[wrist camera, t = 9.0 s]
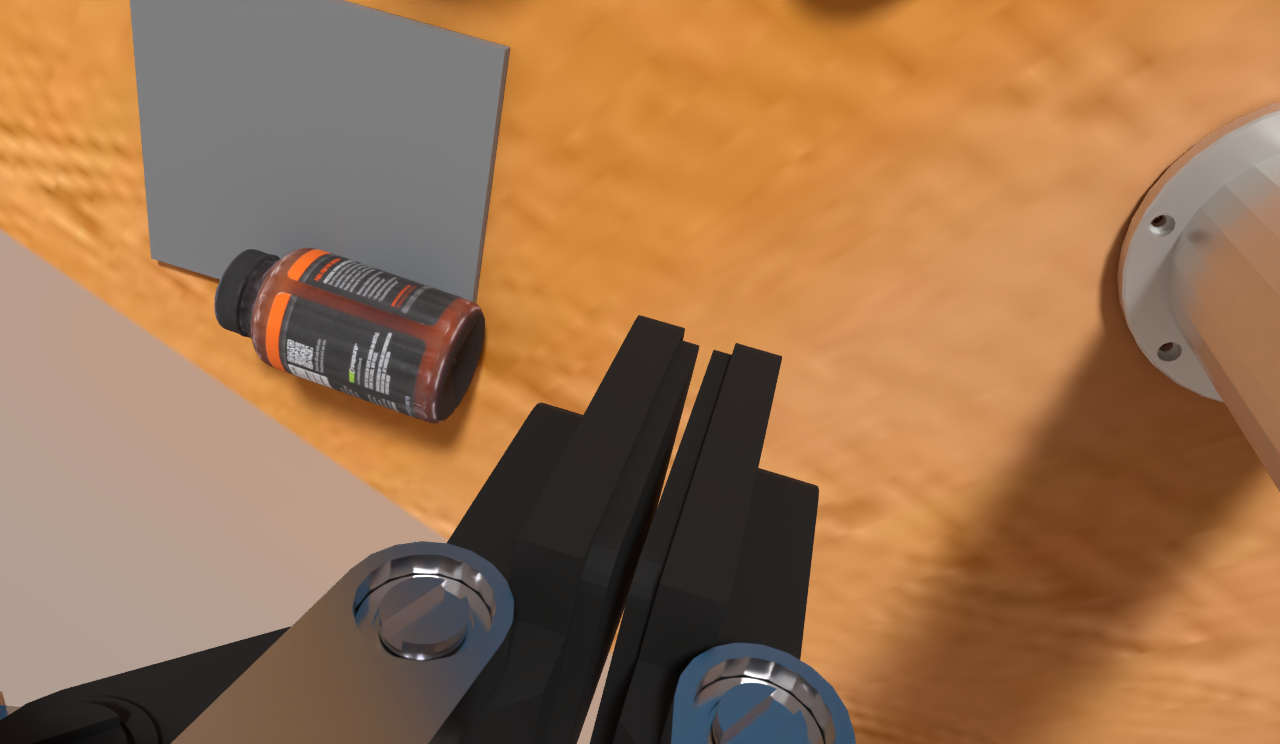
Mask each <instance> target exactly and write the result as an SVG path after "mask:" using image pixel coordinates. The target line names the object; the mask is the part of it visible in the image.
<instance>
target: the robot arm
mask: <svg viewBox="0 0 1280 744" xmlns="http://www.w3.org/2000/svg"><path fill="white" fill-rule="evenodd" d="M1160 215H1163V219H1162V220H1161V221H1160V222H1158V223H1151V222H1152V220H1153V219H1154V218H1156V217H1158V216H1160ZM1117 280H1118V292H1119V302H1120V305H1121V308H1122V311H1123V314H1124V317H1125V320H1126V323H1127V326H1128V328H1129V330H1130V332H1131V333H1132V335H1133V337H1134V339H1135V341H1136V343H1137V345H1138V347H1139V348H1140V349H1141V351H1142V352H1143V353H1144V354H1145V356H1146V357H1147V358H1148V360H1149V361H1150V362H1151V363H1152V364H1153V365H1154V366H1155V367H1156V368H1157V369H1158V370H1160V371H1161V372H1162V373H1163V374H1165V375H1166V376H1167V377H1169V378H1170V379H1171V380H1172V381H1174V382H1175V383H1176V384H1178V385H1180V386H1182V387H1184V388H1186V389H1188V390H1190V391H1192V392H1194V393H1196V394H1198V395H1200V396H1202V397H1205V398H1209V399H1212V400H1215V401H1219V402H1222V403H1225V405H1226V406H1227V408H1228V410H1229V411H1230V413H1231V414H1232V416H1233V418H1234V419H1235V421H1236V422H1237V424H1238V426H1239V427H1240V429H1241V431H1242V432H1243V434H1244V435H1245V437H1246V439H1247V440H1248V442H1249V443H1250V445H1251V447H1252V448H1253V450H1254V451H1255V453H1256V455H1257V456H1258V458H1259V459H1260V461H1261V463H1262V464H1263V466H1264V467H1265V469H1266V471H1267V472H1268V474H1269V475H1270V477H1271V479H1272V480H1273V482H1274V483H1275V485H1276V487H1277V488H1278V490H1279V491H1280V102H1277V103H1273V104H1270V105H1268V106H1265V107H1263V108H1261V109H1258V110H1256V111H1254V112H1251V113H1249V114H1246V115H1244V116H1242V117H1239V118H1237V119H1235V120H1233V121H1231V122H1230V123H1228V124H1226V125H1225V126H1223V127H1222V128H1220V129H1218V130H1217V131H1215V132H1213V133H1212V134H1210V135H1208V136H1207V137H1205V138H1204V139H1202V140H1200V141H1199V142H1198V143H1197V144H1196V145H1194V146H1193V147H1192V148H1191V149H1190V150H1188V151H1187V152H1186V153H1185V154H1184V155H1183V156H1181V157H1180V158H1179V159H1178V160H1177V161H1175V162H1174V163H1173V164H1172V165H1171V166H1170V167H1169V168H1168V170H1167V171H1166V172H1165V173H1164V174H1163V175H1162V176H1161V178H1160V179H1159V180H1158V181H1157V182H1156V183H1155V184H1154V186H1153V187H1152V188H1151V189H1150V190H1149V192H1148V193H1147V195H1146V196H1145V198H1144V200H1143V201H1142V203H1141V205H1140V206H1139V208H1138V210H1137V211H1136V213H1135V215H1134V216H1133V218H1132V220H1131V223H1130V225H1129V228H1128V231H1127V233H1126V236H1125V239H1124V241H1123V244H1122V247H1121V253H1120V260H1119V266H1118V273H1117ZM684 332H685V328H682V327H679V326H675V325H672V324H668V323H665V322H661V321H658V320H654V319H651V318H647V317H644V316H640V315H638V317H637V318H636V320H635V322H634V324H633V325H632V327H631V329H630V331H629V333H628V335H627V336H626V338H625V340H624V342H623V344H622V346H621V347H620V349H619V351H618V353H617V355H616V357H615V358H614V360H613V362H612V364H611V366H610V368H609V369H608V371H607V373H606V375H605V377H604V379H603V380H602V382H601V384H600V386H599V388H598V390H597V391H596V393H595V395H594V397H593V399H592V401H591V402H590V404H589V406H588V408H587V410H586V412H585V413H584V415H581V414H578V413H575V412H571V411H568V410H565V409H561V408H558V407H555V406H551V405H548V404H545V403H539V404H537V405H536V406H535V407H534V409H533V410H532V411H531V413H530V414H529V416H528V417H527V419H526V420H525V422H524V424H523V425H522V427H521V428H520V430H519V431H518V433H517V434H516V436H515V438H514V439H513V441H512V442H511V444H510V445H509V447H508V448H507V450H506V452H505V453H504V455H503V456H502V458H501V459H500V461H499V462H498V464H497V466H496V467H495V469H494V470H493V472H492V473H491V475H490V476H489V478H488V480H487V481H486V483H485V484H484V486H483V487H482V489H481V490H480V492H479V494H478V495H477V497H476V498H475V500H474V501H473V503H472V505H471V506H470V508H469V509H468V511H467V512H466V514H465V515H464V517H463V519H462V520H461V522H460V523H459V525H458V526H457V528H456V529H455V531H454V533H453V534H452V536H451V537H450V539H449V540H448V542H447V543H437V542H424V541H421V542H414V543H406V544H398V545H394V546H392V547H389V548H386V549H384V550H381V551H378V552H376V553H373V554H371V555H369V556H368V557H367V558H365V559H364V560H363V561H361V562H360V563H358V564H357V565H356V566H354V567H353V568H351V569H350V570H349V572H347V573H346V574H345V575H344V576H343V577H342V578H341V579H340V580H339V581H338V582H337V583H336V584H335V585H334V586H333V587H332V588H331V589H330V590H329V591H328V592H327V593H326V594H325V595H323V597H321V598H320V599H319V600H318V601H317V602H316V603H315V604H314V605H313V606H312V607H311V608H310V609H309V610H308V611H307V612H306V613H305V614H304V615H303V616H302V617H301V618H300V619H299V620H298V621H297V622H296V623H295V624H294V625H293V626H291V627H287V628H284V629H280V630H276V631H273V632H269V633H265V634H262V635H258V636H255V637H251V638H248V639H244V640H240V641H237V642H233V643H229V644H226V645H222V646H219V647H215V648H211V649H208V650H205V651H201V652H197V653H193V654H190V655H186V656H183V657H179V658H176V659H172V660H168V661H164V662H161V663H158V664H154V665H150V666H146V667H143V668H139V669H136V670H132V671H128V672H125V673H121V674H118V675H114V676H110V677H107V678H103V679H100V680H96V681H92V682H89V683H85V684H82V685H78V686H75V687H71V688H68V689H64V690H60V691H58V692H55V693H53V694H50V695H48V696H45V697H42V698H40V699H37V700H35V701H32V702H29V703H27V704H25V705H24V706H22V707H14V706H6V705H5V701H4V697H3V694H2V692H0V744H577V741H578V738H579V735H580V732H581V730H582V727H583V724H584V721H585V718H586V716H587V713H588V710H589V707H590V704H591V701H592V699H593V695H594V693H595V690H596V687H597V684H598V681H599V679H600V676H601V673H602V670H603V667H604V665H605V662H606V659H607V656H608V653H609V650H610V648H611V645H612V642H613V639H614V636H615V633H616V631H617V628H618V625H619V622H620V619H621V616H622V614H623V617H622V621H621V625H620V629H619V633H618V636H617V640H616V644H615V648H614V652H613V656H612V660H611V664H610V667H609V671H608V676H607V679H606V683H605V687H604V691H603V695H602V698H601V702H600V706H599V710H598V714H597V718H596V721H595V726H594V729H593V733H592V737H591V741H590V744H856V742H855V734H854V731H853V727H852V724H851V721H850V717H849V714H848V711H847V709H846V707H845V705H844V704H843V702H842V701H841V699H840V698H839V696H838V694H837V693H836V691H835V690H834V688H833V687H832V686H831V685H830V684H829V683H828V682H827V681H826V680H825V679H824V678H823V677H822V676H821V675H820V674H819V673H818V672H817V671H815V670H814V669H813V668H812V667H811V666H809V665H807V664H806V663H804V662H802V661H801V660H800V657H801V648H802V639H803V630H804V621H805V613H806V604H807V595H808V586H809V577H810V569H811V560H812V551H813V542H814V533H815V525H816V516H817V507H818V498H819V488H818V486H816V485H813V484H810V483H806V482H803V481H800V480H797V479H793V478H790V477H787V476H783V475H780V474H777V473H773V472H770V471H767V470H763V469H760V468H758V466H759V462H760V457H761V452H762V448H763V443H764V439H765V434H766V429H767V425H768V420H769V416H770V411H771V406H772V402H773V397H774V392H775V388H776V383H777V379H778V374H779V369H780V365H781V360H782V356H779V355H776V354H772V353H769V352H765V351H762V350H758V349H755V348H751V347H748V346H744V345H741V344H738V343H736V344H735V347H734V350H733V353H732V355H730V354H727V353H723V352H720V351H716V350H714V351H713V353H712V356H711V359H710V362H709V365H708V367H707V370H706V373H705V376H704V379H703V381H702V384H701V387H700V390H699V393H698V395H697V398H696V401H695V404H694V407H693V409H692V412H691V415H690V418H689V421H688V423H687V426H686V429H685V432H684V435H683V437H682V440H681V443H680V446H679V449H678V451H677V454H676V457H675V460H674V463H673V465H672V468H671V471H670V474H669V477H668V480H667V482H666V485H665V488H664V491H663V494H662V496H661V499H660V495H661V491H662V487H663V484H664V480H665V476H666V472H667V468H668V465H669V461H670V457H671V453H672V449H673V446H674V442H675V438H676V434H677V430H678V427H679V423H680V419H681V415H682V412H683V408H684V404H685V400H686V396H687V393H688V389H689V385H690V381H691V377H692V374H693V370H694V366H695V362H696V358H697V354H698V350H699V345H696V344H692V343H689V342H685V341H683V338H684ZM1168 342H1170V343H1169V344H1168V345H1166V346H1162V345H1163V344H1166V343H1168ZM659 499H660V502H659ZM658 503H659V505H658ZM657 506H658V508H657ZM625 605H626V606H625ZM624 608H625V609H624ZM623 611H624V613H623Z"/></svg>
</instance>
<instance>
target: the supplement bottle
mask: <svg viewBox="0 0 1280 744" xmlns="http://www.w3.org/2000/svg"><path fill="white" fill-rule="evenodd" d="M215 315H216V318H217V320H218V323H219V324H220V325H221V326H222V327H223V328H225V329H227V330H229V331H233V332H236V333H238V334H240V335H242V336H245V337H251V339H252V341H253V345H254V348H255V351H256V352H257V354H258V356H259V357H260V358H261V359H262V360H263V361H264V362H265V363H266V364H268V365H270V366H272V367H274V368H276V369H279V370H282V371H284V372H287V373H290V374H293V375H296V376H298V377H301V378H304V379H307V380H309V381H312V382H315V383H318V384H321V385H324V386H327V387H329V388H332V389H335V390H338V391H341V392H343V393H346V394H349V395H352V396H355V397H358V398H360V399H363V400H366V401H369V402H371V403H375V404H377V405H380V406H383V407H386V408H389V409H391V410H394V411H397V412H400V413H403V414H406V415H408V416H411V417H414V418H417V419H422V420H424V421H426V422H430V423H439V422H442V421H444V420H446V419H447V418H448V417H449V416H450V415H451V414H452V413H453V412H454V410H455V408H457V406H458V405H459V404H460V402H461V400H462V399H463V397H464V395H465V393H466V392H467V390H468V388H469V385H470V383H471V380H472V378H473V375H474V372H475V369H476V367H477V364H478V361H479V357H480V354H481V350H482V345H483V340H484V332H485V318H484V316H483V313H482V310H481V308H480V307H479V306H478V305H477V304H476V303H474V302H472V301H469V300H466V299H463V298H462V297H459V296H457V295H453V294H450V293H447V292H444V291H442V290H438V289H436V288H433V287H429V286H426V285H423V284H420V283H418V282H415V281H411V280H409V279H406V278H403V277H400V276H397V275H394V274H391V273H388V272H385V271H383V270H380V269H376V268H373V267H370V266H367V265H364V264H361V263H359V262H356V261H353V260H350V259H348V258H344V257H341V256H338V255H334V254H331V253H328V252H326V251H323V250H319V249H315V248H301V249H297V250H294V251H291V252H290V253H288V254H287V255H286V256H284V257H283V258H282V259H280V258H279V257H278V256H276V255H272V254H268V253H264V252H262V251H259V250H255V249H247V250H245V251H243V252H241V253H239V254H238V255H237V256H236V257H235V258H234V259H233V260H232V261H231V262H230V263H229V265H228V266H227V267H226V269H225V271H224V273H223V274H222V277H221V278H220V281H219V285H218V287H217V289H216V294H215Z"/></svg>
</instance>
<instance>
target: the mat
mask: <svg viewBox="0 0 1280 744" xmlns="http://www.w3.org/2000/svg"><path fill="white" fill-rule="evenodd" d="M130 7H131V19H132V31H133V43H134V55H135V67H136V79H137V91H138V103H139V115H140V127H141V139H142V151H143V163H144V175H145V187H146V199H147V211H148V223H149V235H150V247H151V258H152V259H155V260H158V261H161V262H165V263H168V264H171V265H174V266H178V267H181V268H184V269H187V270H191V271H194V272H197V273H200V274H203V275H207V276H210V277H213V278H216V279H220V278H221V277H222V274H223V273H224V271H225V269H226V267H227V266H228V265H229V263H230V262H231V261H232V260H233V259H234V258H235V257H236V256H237V255H238V254H239V253H241V252H243V251H245V250H247V249H255V250H259V251H262V252H264V253H268V254H272V255H276V256H278V257H279V258H280V259H282V258H283V257H284V256H286V255H287V254H288V253H290V252H291V251H294V250H297V249H301V248H315V249H319V250H323V251H326V252H328V253H331V254H334V255H338V256H341V257H344V258H348V259H350V260H353V261H356V262H359V263H361V264H364V265H367V266H370V267H373V268H376V269H380V270H383V271H385V272H388V273H391V274H394V275H397V276H400V277H403V278H406V279H409V280H411V281H415V282H418V283H420V284H423V285H426V286H429V287H433V288H436V289H438V290H442V291H444V292H447V293H450V294H453V295H457V296H459V297H462V298H463V299H466V300H469V301H472V302H474V303H476V299H477V292H478V284H479V277H480V269H481V262H482V254H483V247H484V239H485V232H486V224H487V217H488V209H489V202H490V194H491V187H492V179H493V172H494V164H495V157H496V149H497V142H498V134H499V127H500V119H501V112H502V104H503V97H504V89H505V82H506V74H507V67H508V59H509V52H510V47H507V46H504V45H500V44H497V43H493V42H490V41H486V40H483V39H479V38H475V37H472V36H468V35H465V34H461V33H458V32H454V31H451V30H447V29H443V28H440V27H436V26H433V25H429V24H426V23H422V22H419V21H415V20H411V19H408V18H404V17H401V16H397V15H394V14H390V13H387V12H383V11H380V10H376V9H372V8H369V7H365V6H362V5H358V4H355V3H351V2H348V1H344V0H130Z"/></svg>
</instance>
